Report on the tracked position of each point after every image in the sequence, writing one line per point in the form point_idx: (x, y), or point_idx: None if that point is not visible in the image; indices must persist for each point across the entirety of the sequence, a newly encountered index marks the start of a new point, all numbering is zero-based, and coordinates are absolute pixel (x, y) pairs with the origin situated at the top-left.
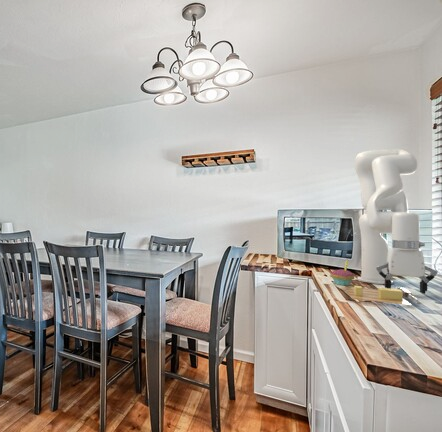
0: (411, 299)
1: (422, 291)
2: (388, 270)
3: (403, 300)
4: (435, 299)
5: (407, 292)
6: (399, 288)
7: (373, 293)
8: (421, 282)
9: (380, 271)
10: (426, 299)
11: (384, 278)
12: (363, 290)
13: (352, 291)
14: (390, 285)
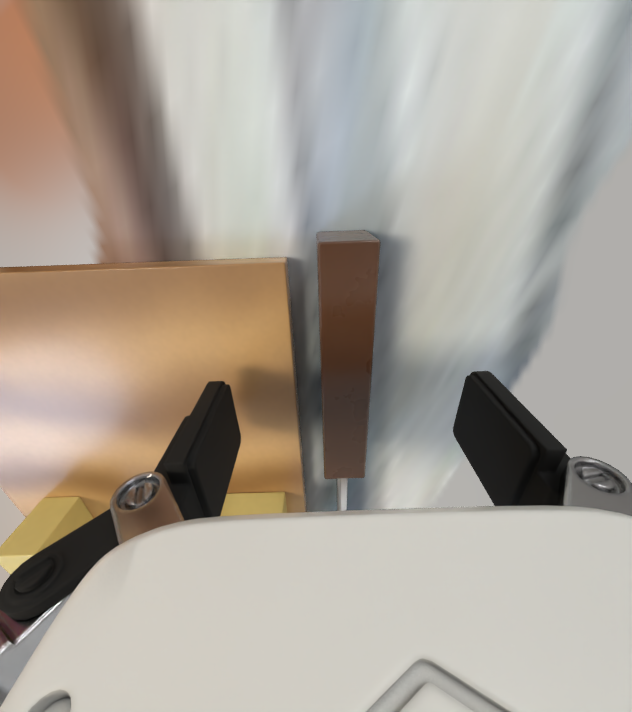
0: (338, 507)
1: (460, 439)
2: (100, 576)
3: None
4: (539, 340)
5: (340, 478)
6: (320, 338)
7: (140, 451)
8: (515, 491)
9: (19, 657)
10: (467, 372)
11: (138, 490)
12: (52, 385)
13: (10, 455)
14: (225, 481)
